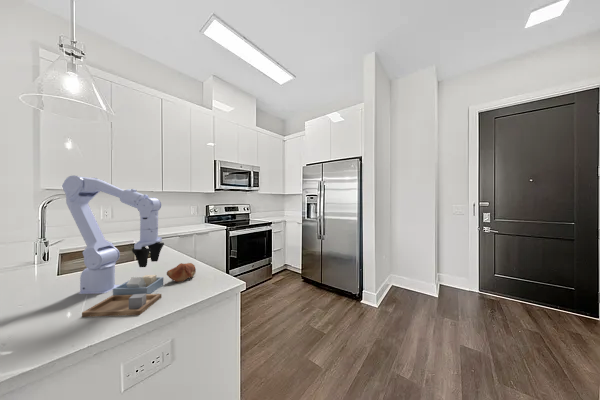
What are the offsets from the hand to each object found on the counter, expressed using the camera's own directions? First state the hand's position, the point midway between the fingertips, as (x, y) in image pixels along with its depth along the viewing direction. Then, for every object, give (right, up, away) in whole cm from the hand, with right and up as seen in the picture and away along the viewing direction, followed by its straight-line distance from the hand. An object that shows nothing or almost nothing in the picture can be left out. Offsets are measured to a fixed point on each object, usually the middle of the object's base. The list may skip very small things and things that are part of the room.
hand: (148, 264), depth 86 cm
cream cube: (0, -9, 0) cm, 9 cm away
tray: (+2, -10, -14) cm, 18 cm away
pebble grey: (-2, -9, -3) cm, 9 cm away
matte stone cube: (+7, -9, -16) cm, 20 cm away
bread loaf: (+7, -10, +11) cm, 17 cm away
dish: (-2, -10, -2) cm, 10 cm away
